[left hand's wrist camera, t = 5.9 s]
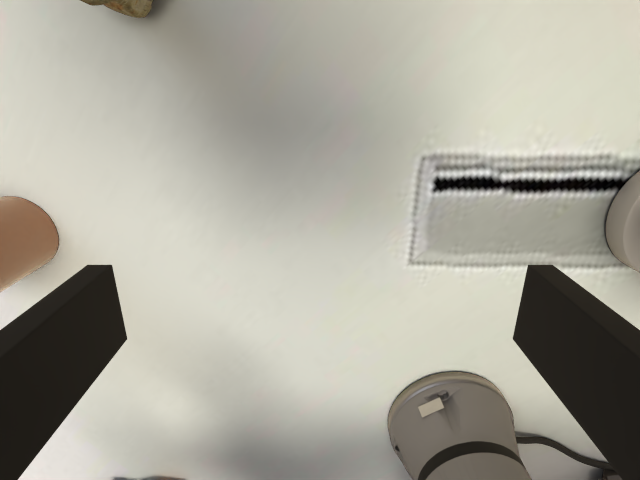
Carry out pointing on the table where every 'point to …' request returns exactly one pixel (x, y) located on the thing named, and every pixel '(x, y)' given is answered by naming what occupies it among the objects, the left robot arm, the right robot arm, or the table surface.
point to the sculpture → (126, 6)
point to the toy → (610, 475)
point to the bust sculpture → (626, 224)
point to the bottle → (24, 239)
